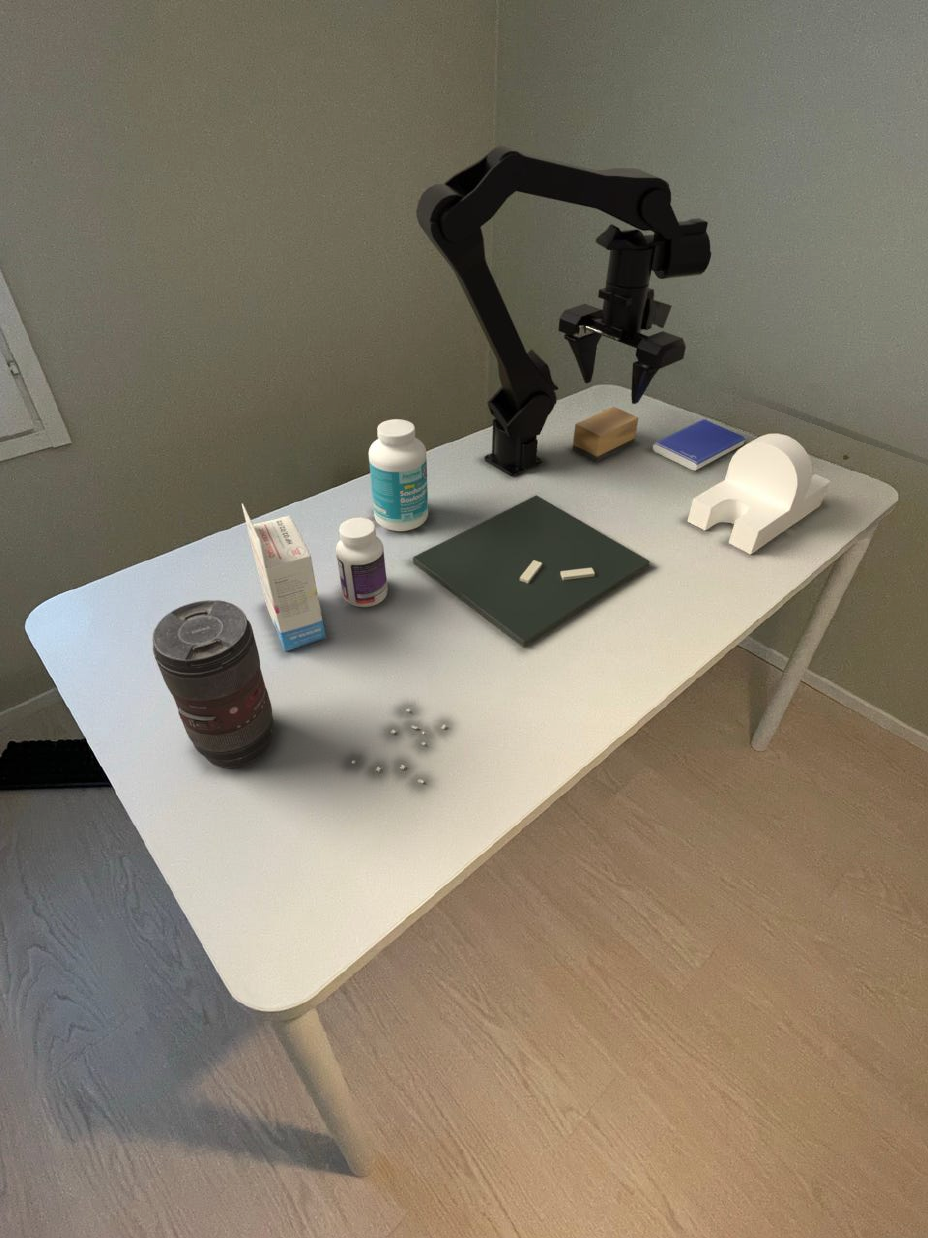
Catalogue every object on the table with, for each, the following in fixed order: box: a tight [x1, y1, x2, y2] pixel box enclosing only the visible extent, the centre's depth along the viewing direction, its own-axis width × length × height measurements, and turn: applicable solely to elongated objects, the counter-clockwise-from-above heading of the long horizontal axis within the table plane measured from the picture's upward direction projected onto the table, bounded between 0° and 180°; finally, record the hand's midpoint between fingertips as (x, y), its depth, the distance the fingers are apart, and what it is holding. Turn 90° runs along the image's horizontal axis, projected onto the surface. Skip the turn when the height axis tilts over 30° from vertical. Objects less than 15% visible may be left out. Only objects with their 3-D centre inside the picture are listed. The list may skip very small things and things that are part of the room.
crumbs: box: [351, 708, 447, 784], centre depth 68 cm, size 8×7×1 cm
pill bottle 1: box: [335, 517, 389, 608], centre depth 82 cm, size 5×5×10 cm
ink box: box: [241, 503, 327, 652], centre depth 76 cm, size 8×5×15 cm, turn 26°
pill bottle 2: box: [368, 418, 429, 532], centre depth 92 cm, size 8×7×14 cm
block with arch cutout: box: [687, 433, 830, 556], centre depth 94 cm, size 18×10×11 cm, turn 131°
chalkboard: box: [412, 494, 651, 648], centre depth 89 cm, size 20×22×1 cm
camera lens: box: [152, 599, 274, 769], centre depth 64 cm, size 8×8×15 cm
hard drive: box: [652, 419, 746, 471], centre depth 110 cm, size 2×8×12 cm
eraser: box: [572, 406, 640, 463], centre depth 110 cm, size 5×9×4 cm, turn 131°
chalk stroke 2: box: [560, 568, 595, 580], centre depth 86 cm, size 4×1×1 cm, turn 101°
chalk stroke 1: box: [520, 560, 542, 583], centre depth 86 cm, size 4×1×1 cm, turn 151°
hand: (610, 392), depth 105 cm, fingers open, 9 cm apart
